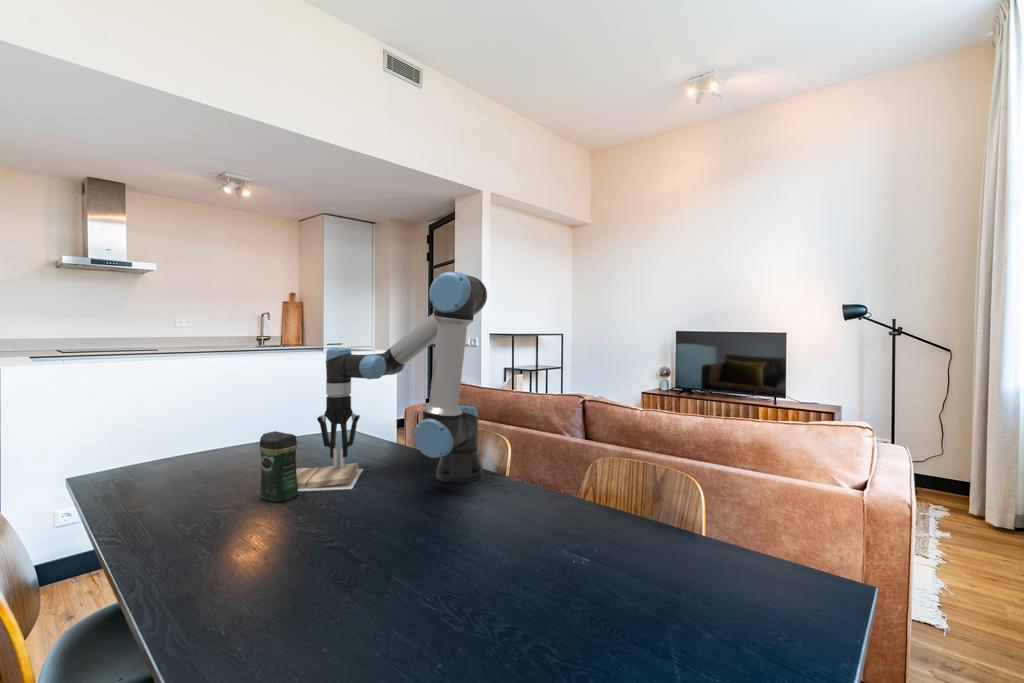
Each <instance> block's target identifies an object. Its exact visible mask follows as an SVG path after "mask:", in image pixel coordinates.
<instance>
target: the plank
mask: <svg viewBox="0 0 1024 683" xmlns="http://www.w3.org/2000/svg"><path fill="white" fill-rule="evenodd" d="M357 469H359V462H353V463H344V467H343V468H342V469H340V464H338V467H337V468H336V469H334V465H328V466H321V467H319V470H318V471H317V472H316V473H315V474H314V476H313V477H312V478H311V479H310V480H309V481H308V482H307V488H314V487H322V486H329V485H337V484H344V483H349V482H350V480H351V479H352V477H353V475H354V474H355V472H356V471H357Z"/></svg>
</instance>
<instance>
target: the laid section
mask: <svg viewBox="0 0 1024 683" xmlns="http://www.w3.org/2000/svg"><path fill="white" fill-rule="evenodd" d="M319 469H320V467H298V468H297V467H296V472H297V483H298V489H305V488H306V487H307V482H308V481H309V480H310V479H311V478H312V477H313V476H314V474H315V473H316V472H317V471H318V470H319Z"/></svg>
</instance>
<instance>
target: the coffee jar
mask: <svg viewBox="0 0 1024 683" xmlns="http://www.w3.org/2000/svg"><path fill="white" fill-rule="evenodd" d="M297 449H298V441H297V436H296V435H295V434H293V433H285V432H281V431H276V430H275V431H270V432H266V433H263V434H262V436H260V439H259V452H260V459H261V461H260V462H261V469H260V470H261V473H260V475H261V476H260V498H261V499H262V500H264V501H266V502H271V503H282V502H288V501H291V500H292V499H294V498H296V497H297V496H298V494H299V491H298V483H297V472H296V468H297V460H296V459H297V457H296V456H297V455H296V454H297Z"/></svg>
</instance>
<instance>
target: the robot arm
mask: <svg viewBox="0 0 1024 683" xmlns="http://www.w3.org/2000/svg"><path fill="white" fill-rule="evenodd" d="M428 294H429V295H428V297H429V301H430V303H431V304H432V307H433V313H431V315H429V316H428V317H427V318H425V319H424V320H423V321H422V322H420V323H419V324H418V325H417V326H415V327H414V328H413V329H412V330H410V331H409V332H408V333H407V334H406V335H404V336H403V337H401V338H400V339H399V340H398V341H397V342H395V343H394V344H393V345H391V347H389V348H388V349H386V351H385V352H382V353H371V354H370V353H369V354H353V353H352V350H351V348H349V347H329V348H328V349H327V350H326V356H325V357H326V358H325V371H326V372H325V374H326V384H325V385H326V386H325V388H326V390H325V394H326V395H327V396H326V398H325V401H326V403H325V404H326V408H325V412H324V414H322V415H319V416H318V417H317V418H316V421H317V422H318V423H319V425H320V432H321V436H322V443H323V446H324V447H325V448H329V451H330V453H329V457H330V458H331V459H333V466H334V469H336V468H337V467H338V465H340V469H342V468H343V467H344V464H345V458H347V457H348V452H349V451H348V450H349V449H348V448H349V447H351V446H352V445H354V441H355V436H356V431H357V426H358V425H357V424H358V422H359V419H360V418H361V416H360V414H355V413H353V409H352V396H351V395H350V394H352V379H354V378H355V379H367V380H378V379H381V378H382V377H383V376H393V375H396V374H399V373H400V372H402V371H403V370H404V368H405V365H407V364H408V363H409V362H410V361H411V360H413V358H416V357H417V356H418V355H419V354H420V353H422V352H423V351H424V350H425V349H427V348H428V347H430V346H431V345H432V344H433V343H435V349H434V357H433V366H432V375H431V376H432V377H431V385H430V394H429V402H428V403H427V405H425V406H423V410H422V418H421V420H420V421H419V422H418V424H416V425H415V428H414V431H413V440H414V443H415V445H416V448H417V449H418V450H419V451H420V453H421V454H423V455H424V456H426V457H429V458H433V459H435V458H436V459H437V458H439V461H438V464H437V467H436V475H435V476H436V479H437V480H439V481H441V482H444V483H451V484H465V483H473V482H475V481H478V480H480V479H482V478H483V475H484V468H483V465H482V462H481V458H480V456H479V452H478V451H479V449H478V446H479V411H478V409H477V408H476V407H475V406H469V405H459V402H460V392H461V384H462V377H463V376H462V374H463V366H464V358H465V357H464V356H465V350H466V342H467V333H468V326H469V325H471V323H473V322H474V317H475V315H476V314H478V313H479V312H480V311H481V310H482V309H483V308H484V306H485V305H486V303H487V300H488V290H487V288H486V286H485V284H484V282H483V281H482V280H480V279H479V278H477V277H476V276H471V275H468V274H464V273H461V272H458V271H446V272H443V273H441V274H439V275H438V276H437V277H435V278H434V279H433V280H432V283H431V285H430V287H429V293H428ZM350 418H351V428H350V433H349V438H348V428H347V427H348V426H347V425H348V424H347V422H348V421H349V420H350ZM327 420H328V421H329V422H330V436H329V432H328V426H327V422H326V421H327ZM338 425H340V431H341V432H340V433H341V443H342V444H341V445H342V446H341V447H340V448H339V447H338V446H337V443H336V442H337V426H338ZM338 448H339V449H338ZM339 452H340V453H339ZM338 455H339V456H338ZM339 461H340V462H339Z"/></svg>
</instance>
